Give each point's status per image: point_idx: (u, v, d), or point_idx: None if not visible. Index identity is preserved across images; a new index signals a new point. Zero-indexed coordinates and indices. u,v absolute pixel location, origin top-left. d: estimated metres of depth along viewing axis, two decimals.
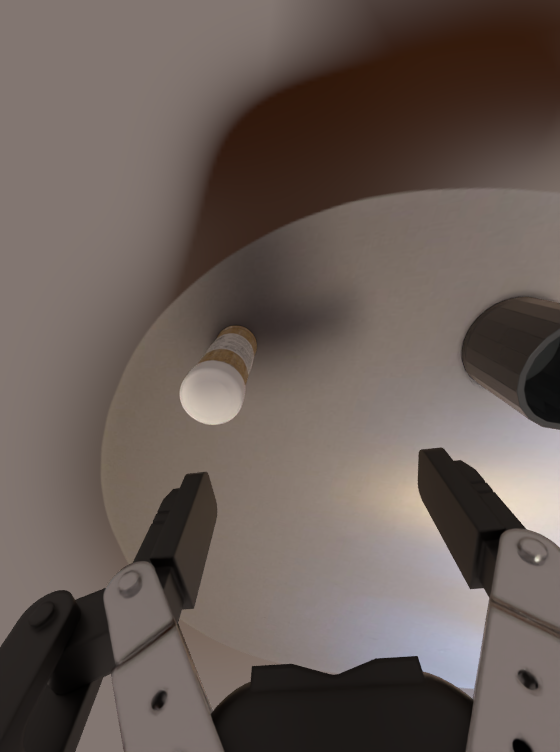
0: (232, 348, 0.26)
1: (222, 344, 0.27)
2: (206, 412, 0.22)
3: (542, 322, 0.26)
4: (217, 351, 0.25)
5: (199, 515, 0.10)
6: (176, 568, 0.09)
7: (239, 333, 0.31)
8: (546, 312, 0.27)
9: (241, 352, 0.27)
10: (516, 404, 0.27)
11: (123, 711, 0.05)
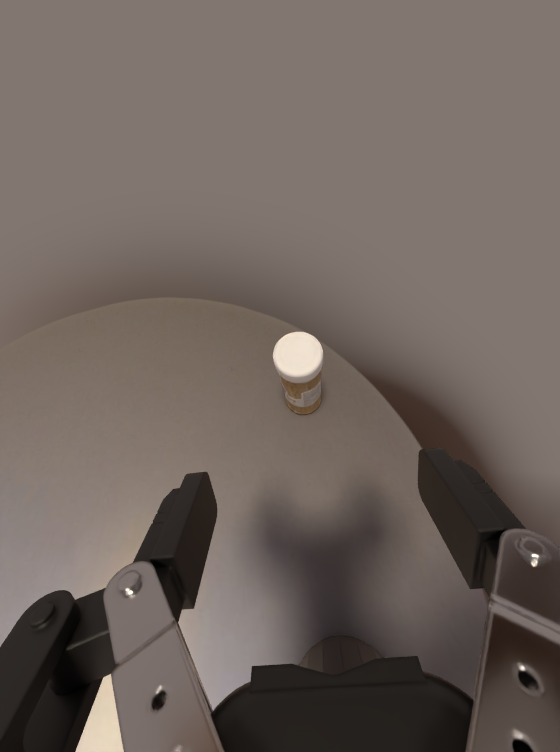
0: (320, 379, 0.32)
1: None
2: (285, 350, 0.28)
3: None
4: None
5: (199, 515, 0.10)
6: (176, 568, 0.09)
7: (319, 395, 0.37)
8: None
9: (317, 388, 0.32)
10: None
11: (123, 711, 0.05)
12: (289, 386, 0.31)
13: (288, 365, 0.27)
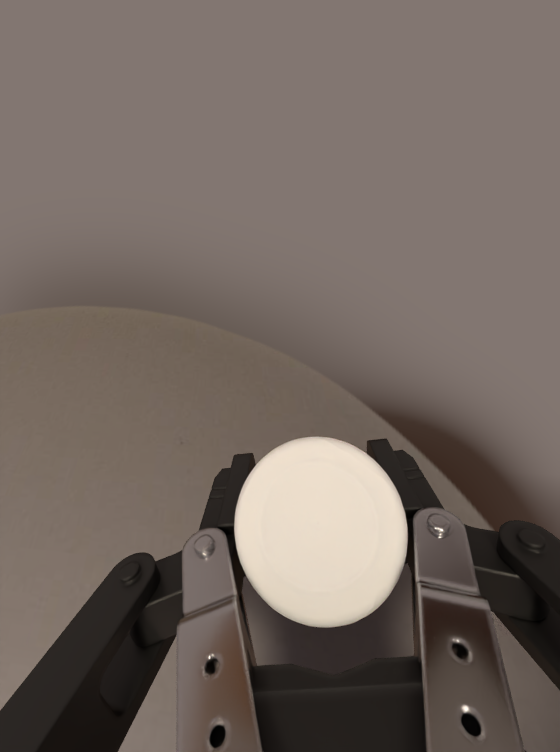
0: None
1: None
2: (274, 511, 0.08)
3: None
4: None
5: None
6: None
7: None
8: None
9: None
10: None
11: (182, 662, 0.06)
12: None
13: (286, 578, 0.08)
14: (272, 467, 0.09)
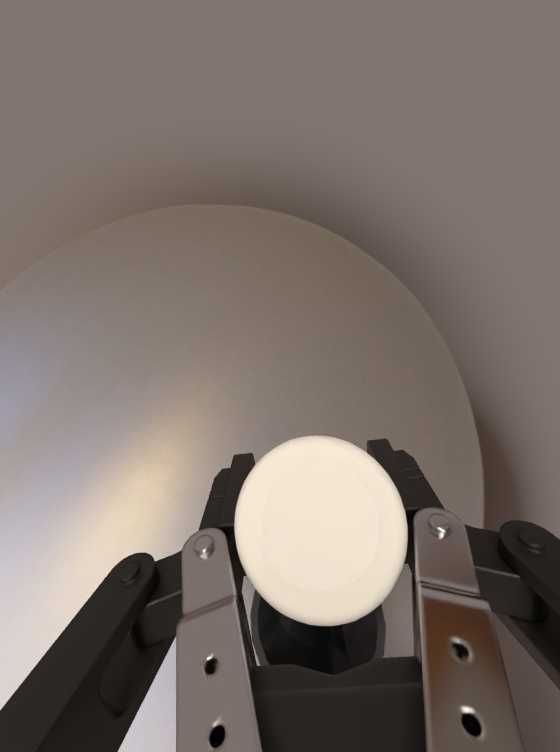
0: None
1: None
2: (274, 510, 0.08)
3: None
4: None
5: None
6: None
7: None
8: None
9: None
10: None
11: (181, 662, 0.06)
12: None
13: (286, 577, 0.08)
14: (272, 466, 0.09)
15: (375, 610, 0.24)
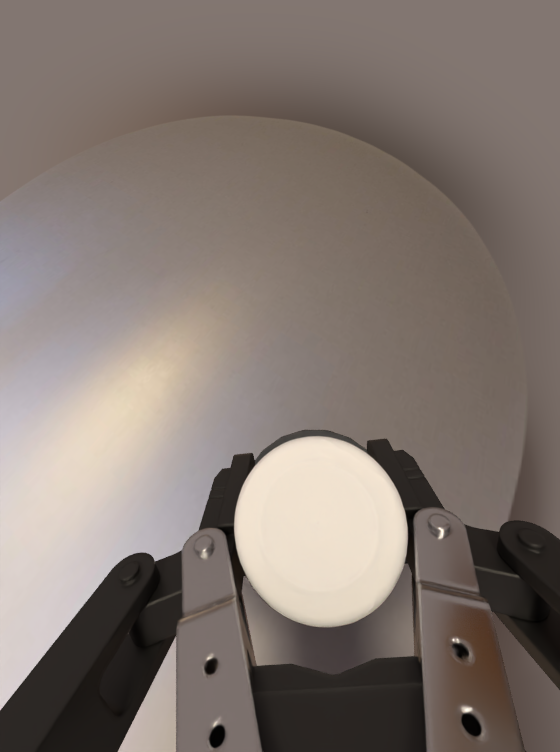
0: None
1: None
2: (274, 511, 0.08)
3: None
4: None
5: None
6: None
7: None
8: None
9: None
10: None
11: (181, 662, 0.06)
12: None
13: (286, 578, 0.08)
14: (272, 467, 0.09)
15: None
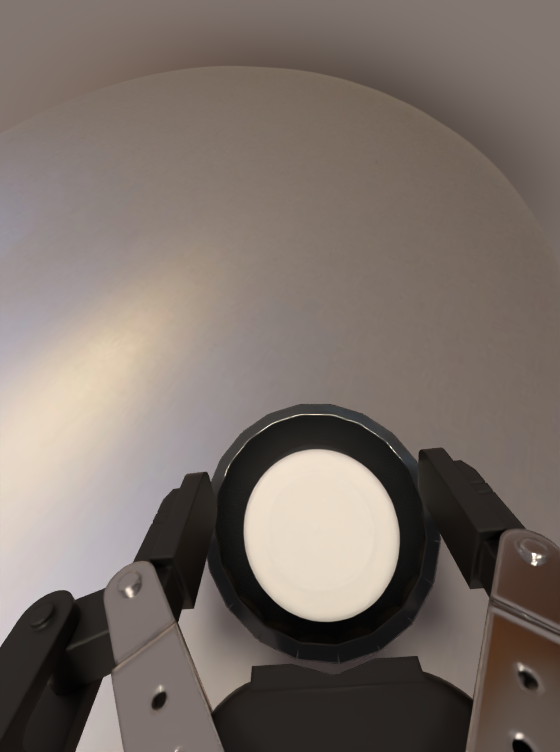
0: None
1: None
2: (280, 517, 0.09)
3: None
4: None
5: (199, 515, 0.10)
6: (176, 568, 0.09)
7: None
8: None
9: None
10: None
11: (123, 711, 0.05)
12: None
13: (290, 578, 0.08)
14: (277, 477, 0.09)
15: (424, 513, 0.13)
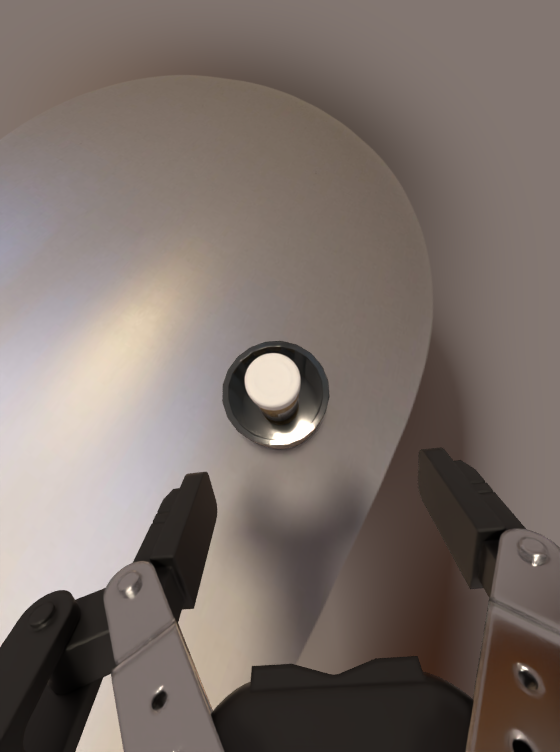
0: (298, 397, 0.30)
1: None
2: (257, 376, 0.25)
3: None
4: None
5: (199, 515, 0.10)
6: (176, 568, 0.09)
7: None
8: None
9: (294, 406, 0.30)
10: None
11: (123, 711, 0.05)
12: (264, 409, 0.28)
13: (262, 394, 0.24)
14: (256, 363, 0.25)
15: (322, 386, 0.30)
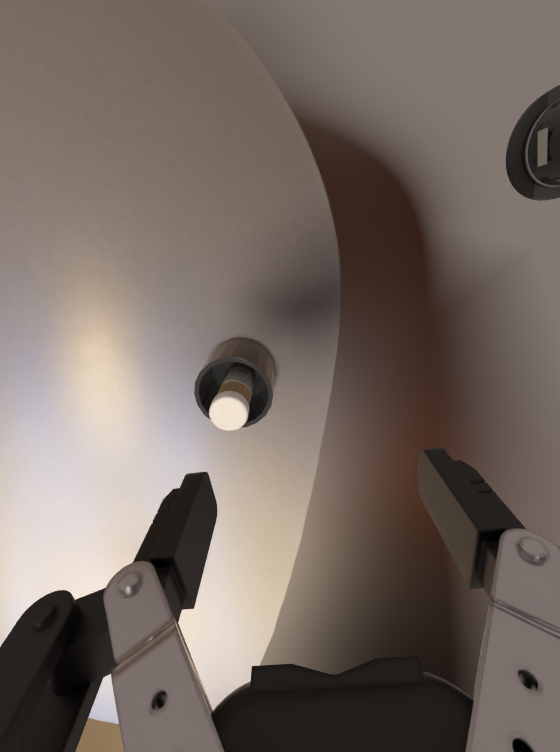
0: (250, 391, 0.41)
1: (248, 383, 0.41)
2: (218, 417, 0.36)
3: (264, 366, 0.41)
4: (246, 388, 0.40)
5: (199, 515, 0.10)
6: (176, 568, 0.09)
7: (253, 375, 0.46)
8: (269, 370, 0.43)
9: None
10: (209, 362, 0.40)
11: (123, 711, 0.05)
12: None
13: (227, 426, 0.37)
14: (212, 410, 0.36)
15: (263, 378, 0.40)
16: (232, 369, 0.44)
